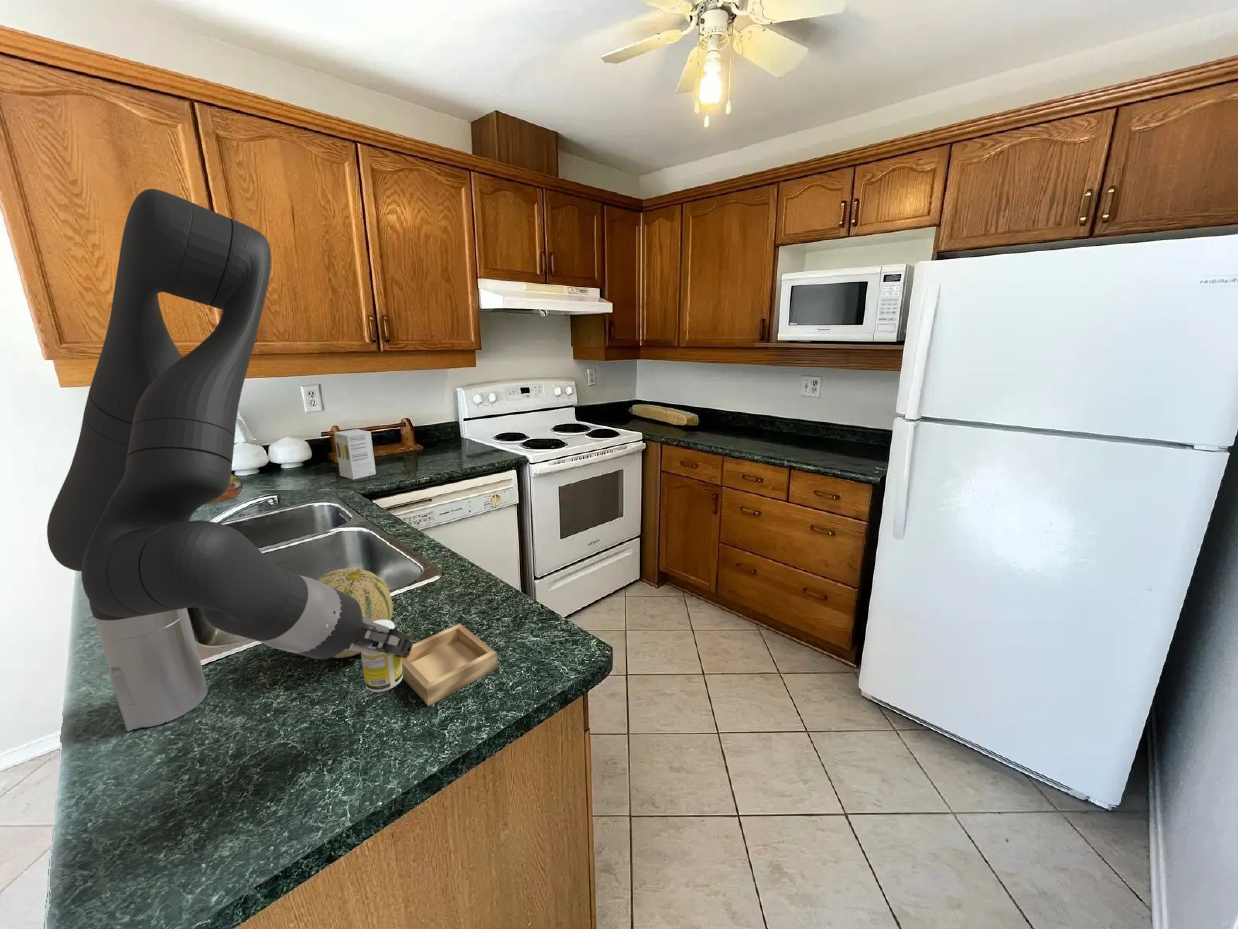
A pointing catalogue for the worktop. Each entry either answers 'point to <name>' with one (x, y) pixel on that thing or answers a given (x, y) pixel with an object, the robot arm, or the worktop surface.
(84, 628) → the worktop surface
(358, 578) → the cantaloupe
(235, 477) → the tin
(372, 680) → the supplement bottle
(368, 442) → the supplement box
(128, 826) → the worktop surface
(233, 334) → the robot arm
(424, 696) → the box
